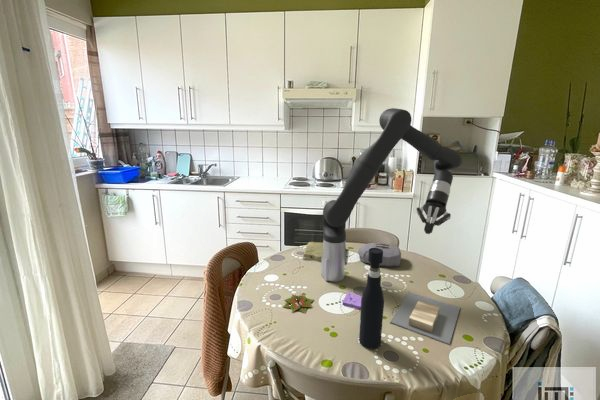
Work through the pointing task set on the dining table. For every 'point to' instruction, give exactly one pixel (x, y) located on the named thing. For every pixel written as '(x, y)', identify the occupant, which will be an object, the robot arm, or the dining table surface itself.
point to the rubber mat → (442, 325)
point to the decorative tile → (314, 251)
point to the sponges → (352, 300)
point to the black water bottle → (372, 303)
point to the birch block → (424, 316)
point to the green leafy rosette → (301, 299)
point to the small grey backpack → (389, 254)
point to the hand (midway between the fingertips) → (427, 233)
